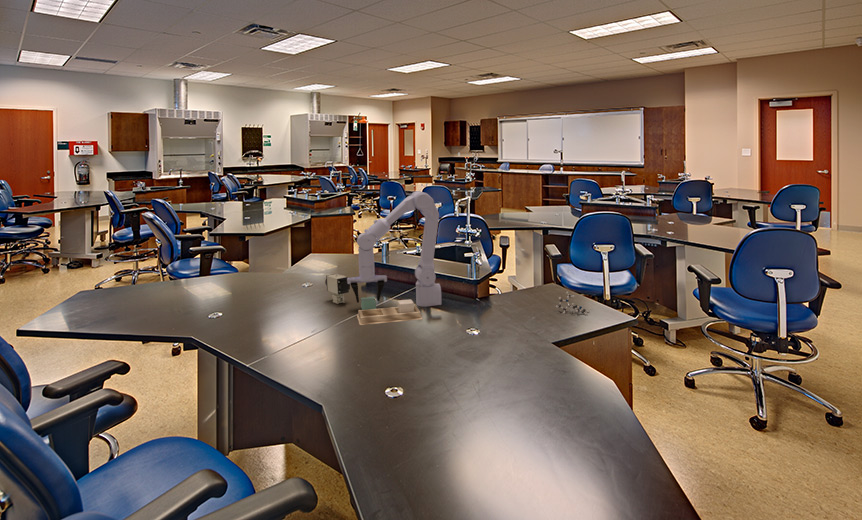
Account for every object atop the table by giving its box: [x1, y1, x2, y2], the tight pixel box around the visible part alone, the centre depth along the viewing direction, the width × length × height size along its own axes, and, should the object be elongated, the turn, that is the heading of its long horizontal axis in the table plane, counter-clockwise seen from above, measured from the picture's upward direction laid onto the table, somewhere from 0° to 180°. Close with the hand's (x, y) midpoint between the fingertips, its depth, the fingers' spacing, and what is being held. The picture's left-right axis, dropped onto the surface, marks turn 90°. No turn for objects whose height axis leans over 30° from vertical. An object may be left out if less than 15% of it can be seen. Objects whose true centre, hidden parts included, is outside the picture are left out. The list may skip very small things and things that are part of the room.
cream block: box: [396, 299, 415, 314], centre depth 179 cm, size 5×5×5 cm
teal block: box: [360, 296, 377, 310], centre depth 188 cm, size 5×5×5 cm
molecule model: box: [555, 291, 590, 316], centre depth 181 cm, size 6×12×8 cm, turn 77°
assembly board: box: [356, 304, 424, 326], centre depth 178 cm, size 22×12×3 cm, turn 103°
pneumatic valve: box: [324, 273, 351, 305], centre depth 200 cm, size 6×12×12 cm, turn 41°
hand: (368, 301), depth 187 cm, fingers open, 7 cm apart
